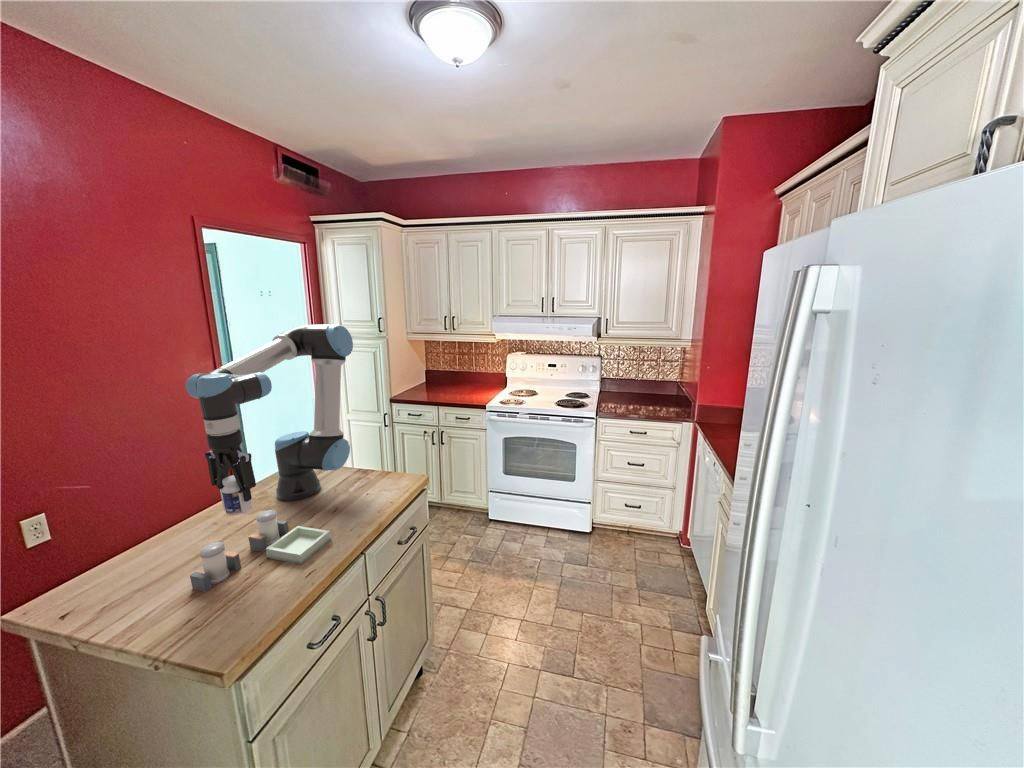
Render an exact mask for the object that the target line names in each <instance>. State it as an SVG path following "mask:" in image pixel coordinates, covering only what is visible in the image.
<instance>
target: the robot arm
mask: <svg viewBox="0 0 1024 768" xmlns="http://www.w3.org/2000/svg"><path fill="white" fill-rule="evenodd" d="M353 348H354V342H353V337H352V335H351V333H350V332H349V329H348V328H346V327H345V326H344V325H341V324H334V323H333V324H332V323H328V324H301V325H299V326H296V327H293V328H290V329H288V330H286V331H283V332H281V333H280V334H277V335H276V336H274V337H273V338H272V340H271V341H270V342H268V343H266V344H264V345H262V346H260V347H257V348H256V349H254V350H252V351H250V352H248V353H246V354H244V355H241V356H240V357H238V358H236V359H234V360H232V361H230V362H229V363H227V364H224V365H222V366H220V367H218V368H216V369H214V370H212V371H210V372H207V373H204V372H201V373H195V374H192V375H191V376H190V377H188V379H187V380H186V382H185V389H186V391H187V394H188V395H189V396H190V397H192V398H194V399H198V401H199V406H200V410H201V414H202V415H201V416H202V419H203V423H204V430H205V433H206V434H207V435H206V441H207V446H208V449H210V450H209V451H207V452H204V457H205V458H206V461H207V466H208V471H209V473H208V474H209V479H210V484H211V486H216V488H217V489H218V492H219V496H220V498H221V502H222V507H223V511H225V506H224V500H223V495H222V489H223V487H224V485H223V482H222V480H223V479H224V478H226V477H229V476H230V475H229V473H230V470H231V472H232V474H233V475H234V477H235V479H236V481H237V484H238V486H239V488H240V491H238V495H239V500H240V505H241V511H242V513H241V514H246V513H248V512H249V511H251V510H253V509H254V508H253V503H252V497H253V496H252V492H251V491H252V490H251V489H253V488H254V487H256V486H257V481H256V477H255V473H254V470H253V464H252V453H250V452H249V453H244V452H243V450H242V448H241V444H242V442H243V435H242V431H241V429H240V427H241V424H240V419H239V414H238V409H237V408H238V407H237V406H239V405H242V404H243V405H244V404H246V403H249V402H251V401H256V400H260V399H262V398H264V397H267V396H268V395H269V394H270V393H271V392H272V388H273V387H272V381H271V379H270V377H269V376H268V375H267V374H265V373H264V372H266V371H268V370H270V369H272V368H273V367H276V366H277V365H278V364H280V363H282V362H284V361H285V360H286V361H289V360H290V361H291V360H293V359H295V358H298V357H303V356H311V361H312V362H313V363H314V364H315V384H314V385H315V388H314V413H313V414H314V420H313V421H314V422H313V423H314V424H313V430H312V431H311V432H310V433H309V432H308V431H306V430H305V431H304V430H303V431H296V432H291V433H288V434H283V435H282V436H279V437H278V438H277V439H275V441H274V452H275V459H276V463H277V469H278V481H277V487H276V489H275V492H276V498H277V499H278V500H280V501H286V502H289V501H299V500H302V499H306V498H309V497H311V496H313V495H315V494H316V493H318V492H319V491H320V490H321V489H322V488H321V481H320V479H319V478H318V475H317V474H316V471H315V470H319V471H320V470H321V471H337V470H340V469H342V467H343V466H345V463H346V462H348V459H349V455H350V452H351V445H350V443H349V441H348V440H347V439H345V438H344V432H343V431H342V430H341V429H340V421H341V418H340V417H341V416H340V413H341V409H340V408H341V386H342V385H341V377H342V365H343V364H345V363H346V357H349V355H351V354H352V352H353ZM225 512H226V511H225Z"/></svg>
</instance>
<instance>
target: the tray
mask: <svg viewBox="0 0 1024 768" xmlns="http://www.w3.org/2000/svg"><path fill="white" fill-rule="evenodd" d="M331 540H332V536H331V531H330V530H326V529H319V528H313V527H307V526H301V525H297V526H296V527H295V526H294V528H292V529H291V530H289V532H288V533H287V534H285V535H282V536H280V539H278V540H277V541H276V542H274V543H273V544H271V545H269V546H266V547H267V548H266V549H265V552H266V553H265V554H266V558H267V559H270V560H277V561H281V562H282V561H283V562H287V563H292V564H298V565H303V564H304V563H306V561H308V560H309V559H310V558H311V557H313V555H315V554H317V552H319V551H320V550H321V549H322V548H323V547H324V546H325V545H327V544H328V543H329V542H331Z"/></svg>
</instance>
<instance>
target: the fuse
mask: <svg viewBox="0 0 1024 768" xmlns="http://www.w3.org/2000/svg"><path fill="white" fill-rule="evenodd" d="M255 518H256V521H257V522H256V523H257V528H258V535H263V536H265V541H266V547H269V546H270V545H271V544H273V543H274V542H276V541H277V540H278V539H280V538H281V536H280V534H279V530H278V524H277V520H278V519H277V518H278V517H277V511H276V510H274V509H269V510H267V509H266V510H264V511H262V512H260V513H258V514H257V515H256V516H255Z"/></svg>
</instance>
